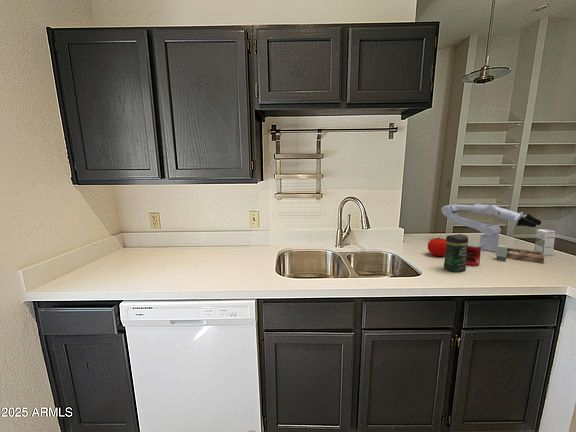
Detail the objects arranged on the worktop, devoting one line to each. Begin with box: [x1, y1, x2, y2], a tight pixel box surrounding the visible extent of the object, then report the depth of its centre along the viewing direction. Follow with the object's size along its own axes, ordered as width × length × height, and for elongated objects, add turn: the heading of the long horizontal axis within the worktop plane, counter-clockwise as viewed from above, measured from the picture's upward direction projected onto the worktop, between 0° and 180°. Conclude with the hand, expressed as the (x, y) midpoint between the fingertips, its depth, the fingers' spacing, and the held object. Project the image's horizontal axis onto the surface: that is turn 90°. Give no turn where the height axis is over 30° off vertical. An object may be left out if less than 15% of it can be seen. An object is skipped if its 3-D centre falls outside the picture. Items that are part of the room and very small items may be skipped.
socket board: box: [506, 247, 545, 264], centre depth 141 cm, size 16×14×3 cm
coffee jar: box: [443, 233, 469, 273], centre depth 126 cm, size 10×8×19 cm
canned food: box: [466, 242, 482, 267], centre depth 134 cm, size 8×8×11 cm
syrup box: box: [534, 228, 556, 256], centre depth 145 cm, size 6×6×14 cm
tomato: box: [427, 236, 446, 257], centre depth 150 cm, size 12×12×11 cm
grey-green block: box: [495, 244, 508, 262], centre depth 139 cm, size 4×4×8 cm
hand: (538, 224), depth 138 cm, fingers open, 7 cm apart
